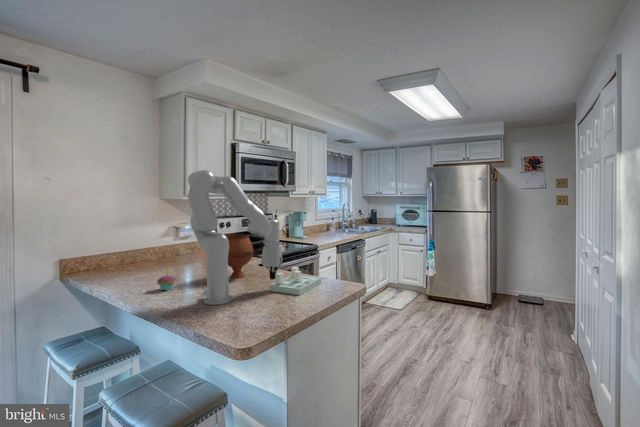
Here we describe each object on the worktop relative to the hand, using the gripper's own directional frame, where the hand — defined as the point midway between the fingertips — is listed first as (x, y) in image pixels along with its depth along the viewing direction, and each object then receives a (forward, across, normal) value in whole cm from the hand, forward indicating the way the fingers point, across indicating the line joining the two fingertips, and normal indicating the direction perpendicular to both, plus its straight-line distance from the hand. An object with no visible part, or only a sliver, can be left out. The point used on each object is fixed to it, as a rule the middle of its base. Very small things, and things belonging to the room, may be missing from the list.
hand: (272, 278), depth 169 cm
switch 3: (+2, +10, +7) cm, 13 cm away
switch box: (+5, +9, +7) cm, 13 cm away
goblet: (+5, -34, +12) cm, 36 cm away
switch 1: (+2, +4, 0) cm, 5 cm away
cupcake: (+5, -50, -24) cm, 56 cm away
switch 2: (+2, +4, +15) cm, 16 cm away
